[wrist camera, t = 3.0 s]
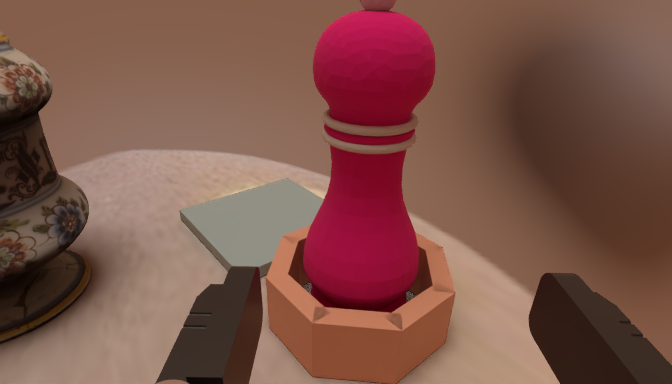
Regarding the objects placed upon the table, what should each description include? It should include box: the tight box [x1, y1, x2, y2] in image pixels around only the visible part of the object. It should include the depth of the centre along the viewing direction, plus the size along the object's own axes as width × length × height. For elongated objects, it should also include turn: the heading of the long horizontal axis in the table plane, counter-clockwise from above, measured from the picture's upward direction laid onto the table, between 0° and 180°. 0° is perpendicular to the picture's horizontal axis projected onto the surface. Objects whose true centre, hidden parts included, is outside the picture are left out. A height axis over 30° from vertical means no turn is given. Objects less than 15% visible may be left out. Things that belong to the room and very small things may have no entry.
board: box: [180, 178, 324, 277], centre depth 35 cm, size 12×12×1 cm
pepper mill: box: [303, 0, 435, 313], centre depth 22 cm, size 7×7×20 cm
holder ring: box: [266, 225, 456, 384], centre depth 25 cm, size 11×11×4 cm
